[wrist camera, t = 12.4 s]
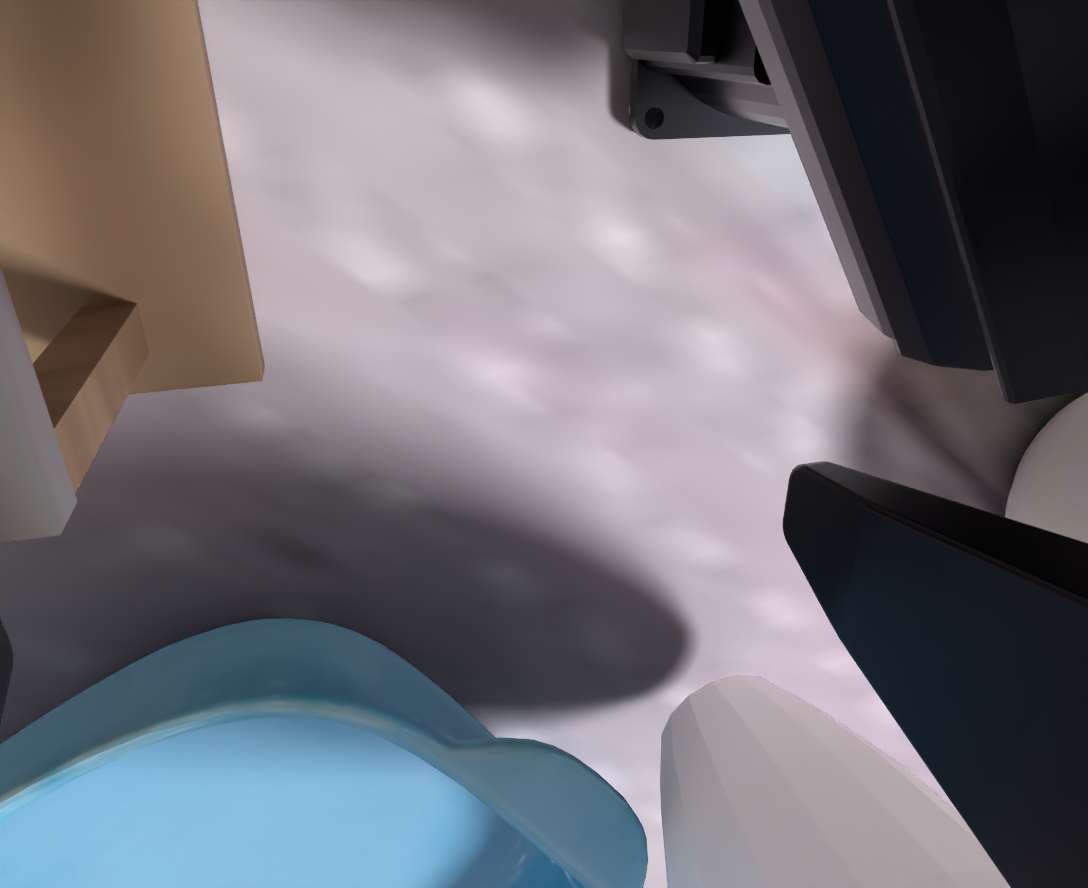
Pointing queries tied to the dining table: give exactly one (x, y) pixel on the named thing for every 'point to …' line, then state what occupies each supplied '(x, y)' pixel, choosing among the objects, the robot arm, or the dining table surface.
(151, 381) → the trapdoor stand
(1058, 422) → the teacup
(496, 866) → the casserole dish
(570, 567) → the dining table surface
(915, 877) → the cup
